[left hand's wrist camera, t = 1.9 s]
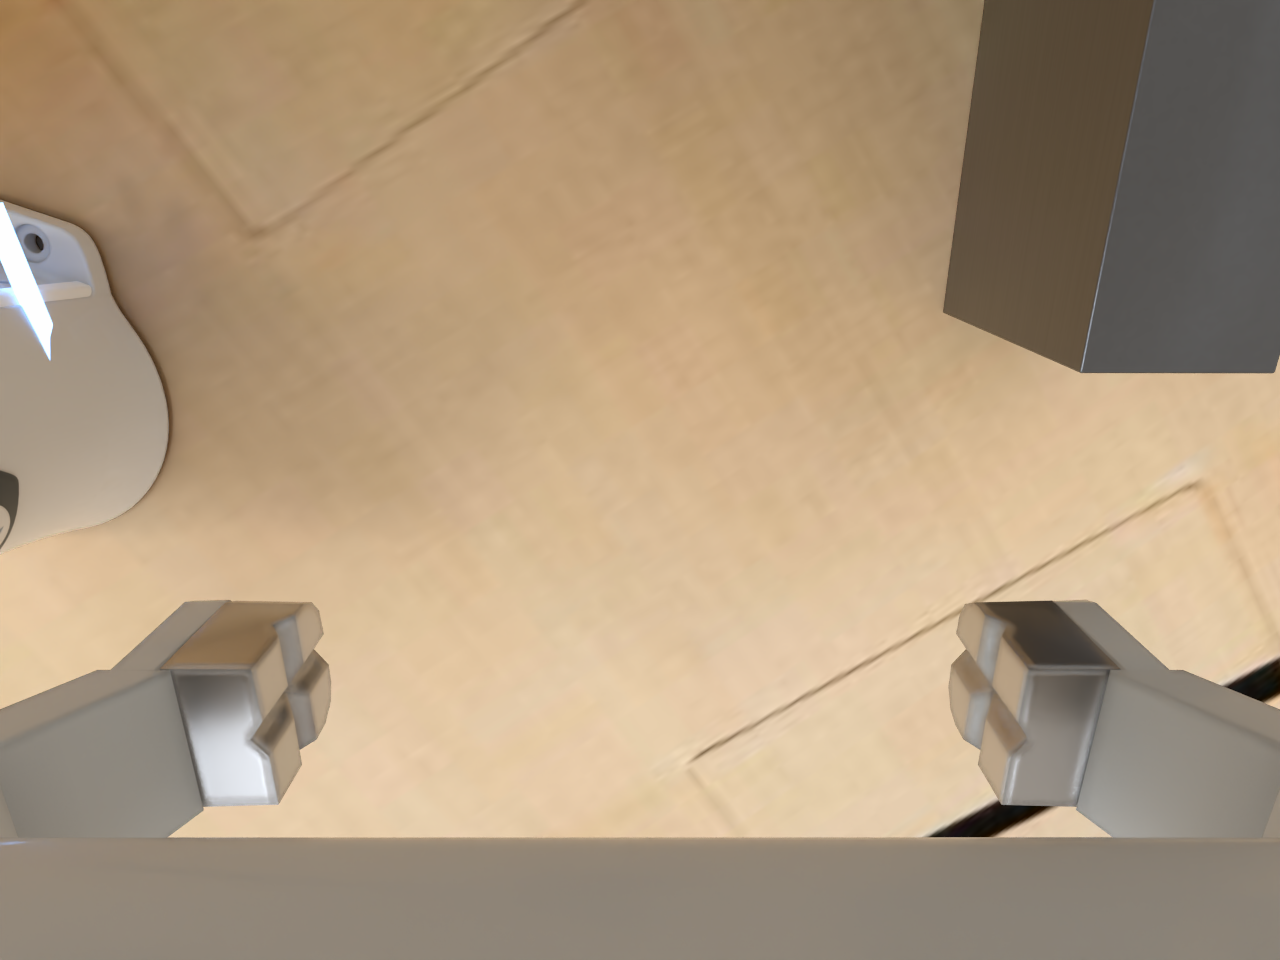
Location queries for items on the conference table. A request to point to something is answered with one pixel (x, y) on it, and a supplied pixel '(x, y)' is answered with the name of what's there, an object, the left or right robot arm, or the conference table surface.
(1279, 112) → the box
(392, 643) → the conference table surface
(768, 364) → the conference table surface
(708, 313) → the conference table surface
